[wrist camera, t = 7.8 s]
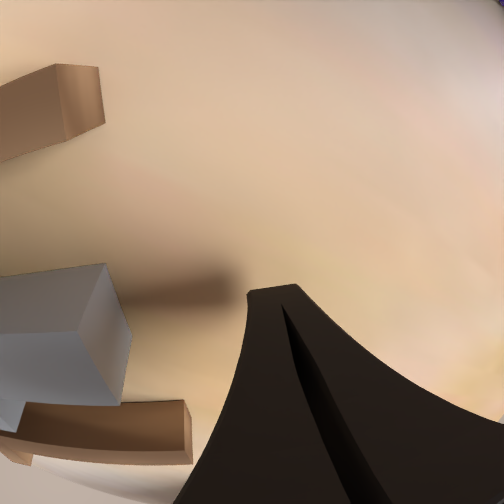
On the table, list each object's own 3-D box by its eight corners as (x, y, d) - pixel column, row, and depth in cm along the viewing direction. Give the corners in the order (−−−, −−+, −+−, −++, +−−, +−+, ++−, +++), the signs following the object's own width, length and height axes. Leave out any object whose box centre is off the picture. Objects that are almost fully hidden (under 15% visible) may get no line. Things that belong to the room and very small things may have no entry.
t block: (151, 379, 12) (146, 443, 9) (-8, 376, 11) (-27, 423, 8) (83, 183, 8) (35, 232, 5) (-87, 234, 7) (-128, 274, 4)
